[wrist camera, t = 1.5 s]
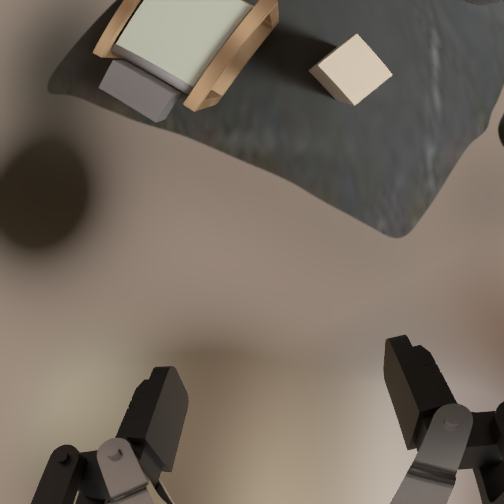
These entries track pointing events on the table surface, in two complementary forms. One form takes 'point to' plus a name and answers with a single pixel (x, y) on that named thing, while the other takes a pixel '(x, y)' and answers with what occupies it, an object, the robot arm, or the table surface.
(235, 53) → the frame
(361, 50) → the block
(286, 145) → the table surface
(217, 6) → the door
